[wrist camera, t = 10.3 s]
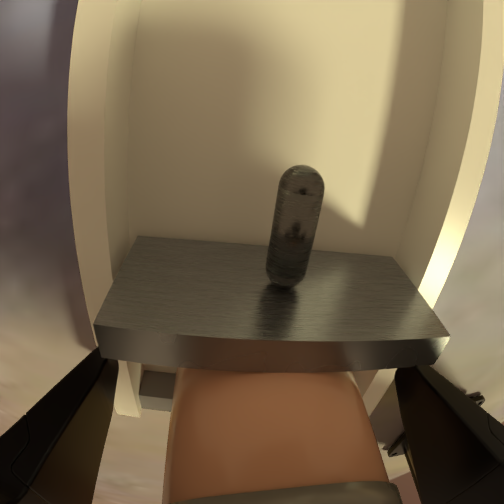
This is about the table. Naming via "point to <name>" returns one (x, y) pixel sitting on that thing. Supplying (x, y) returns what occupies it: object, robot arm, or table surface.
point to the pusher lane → (278, 134)
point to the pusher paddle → (267, 301)
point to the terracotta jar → (272, 441)
